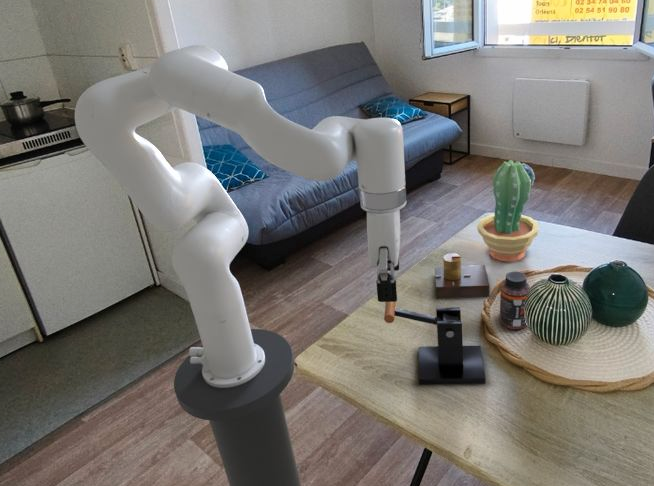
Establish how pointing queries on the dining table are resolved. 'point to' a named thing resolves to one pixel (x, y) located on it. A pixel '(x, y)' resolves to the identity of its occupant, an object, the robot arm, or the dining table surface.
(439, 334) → the bracket
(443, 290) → the dial panel
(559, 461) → the dining table surface
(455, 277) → the knob
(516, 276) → the supplement bottle
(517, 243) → the potted cactus
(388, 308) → the lever handle
